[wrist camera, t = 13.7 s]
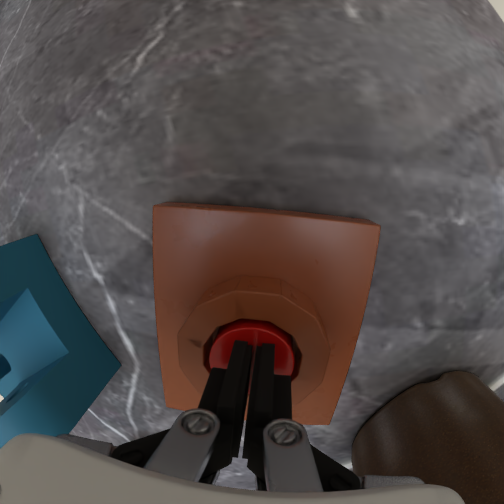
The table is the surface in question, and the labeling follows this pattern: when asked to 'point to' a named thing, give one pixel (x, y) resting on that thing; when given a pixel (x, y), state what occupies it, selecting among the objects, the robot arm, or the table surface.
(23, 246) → the bracket
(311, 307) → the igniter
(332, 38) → the table surface
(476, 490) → the plant pot
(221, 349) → the button
